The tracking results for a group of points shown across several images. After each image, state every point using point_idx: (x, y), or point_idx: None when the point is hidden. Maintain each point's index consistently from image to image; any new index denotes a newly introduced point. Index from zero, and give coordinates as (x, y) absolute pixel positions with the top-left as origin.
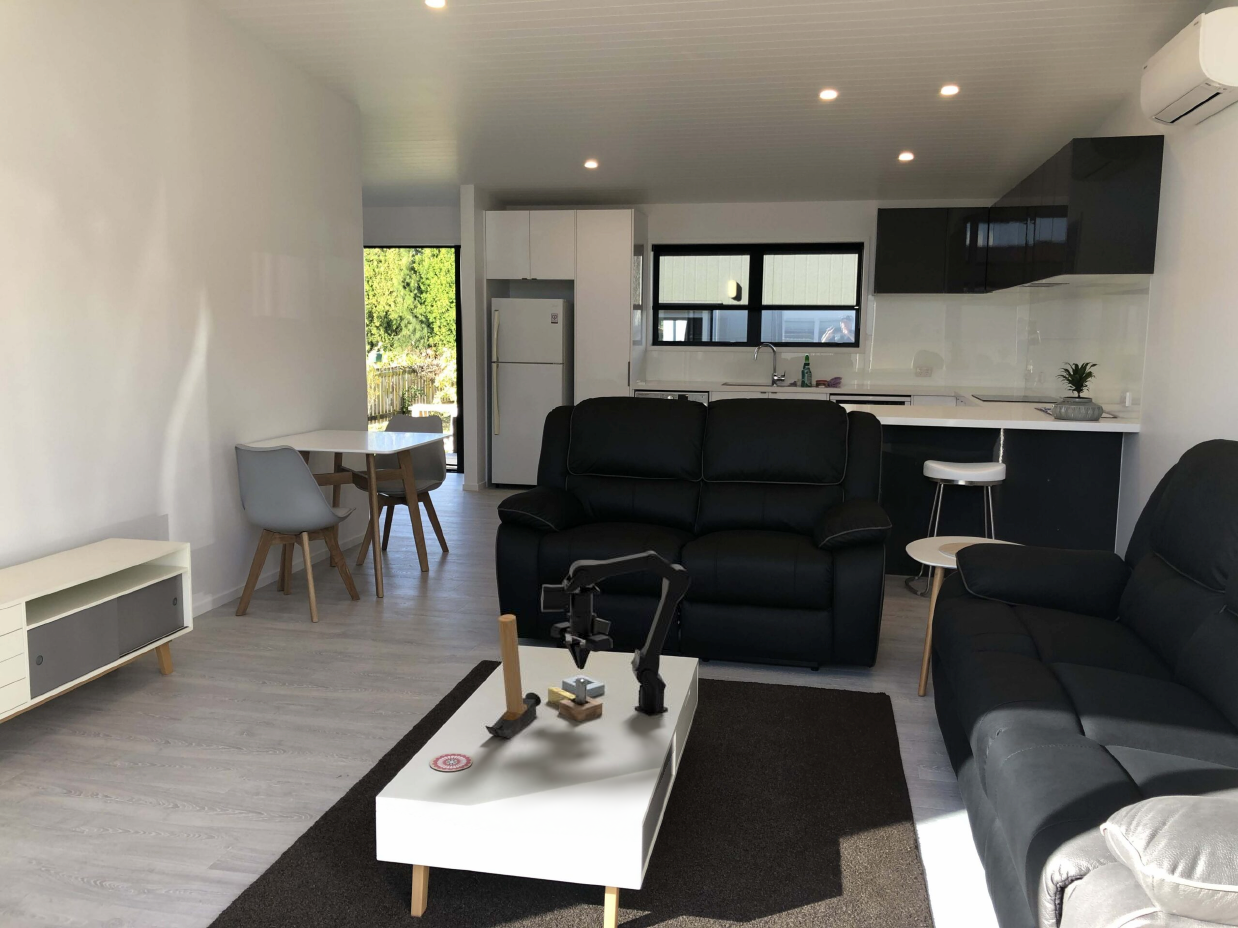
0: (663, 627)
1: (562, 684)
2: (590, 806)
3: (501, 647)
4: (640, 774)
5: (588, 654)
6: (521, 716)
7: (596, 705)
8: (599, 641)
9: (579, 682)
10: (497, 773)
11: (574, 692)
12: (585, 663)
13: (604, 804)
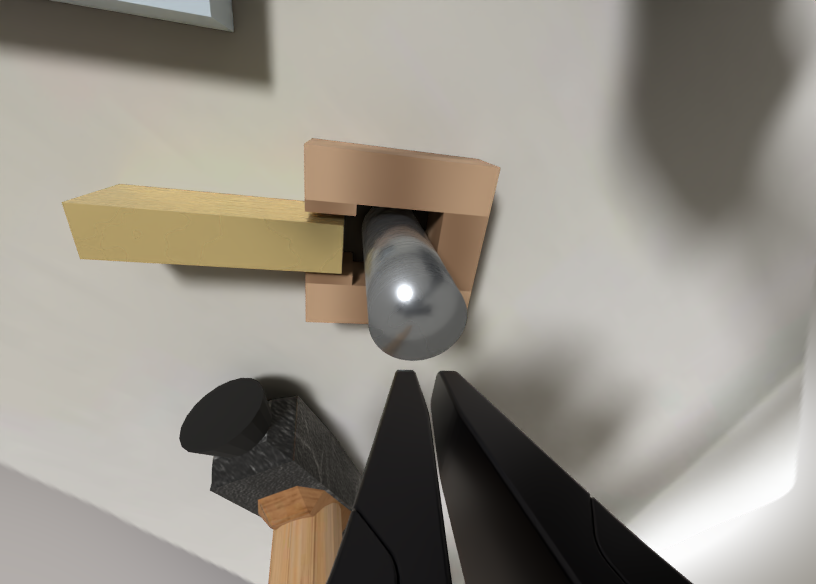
0: None
1: None
2: (707, 517)
3: None
4: (776, 400)
5: (652, 566)
6: (349, 503)
7: (487, 214)
8: None
9: (436, 351)
10: None
11: (93, 6)
12: (499, 414)
13: (729, 502)
